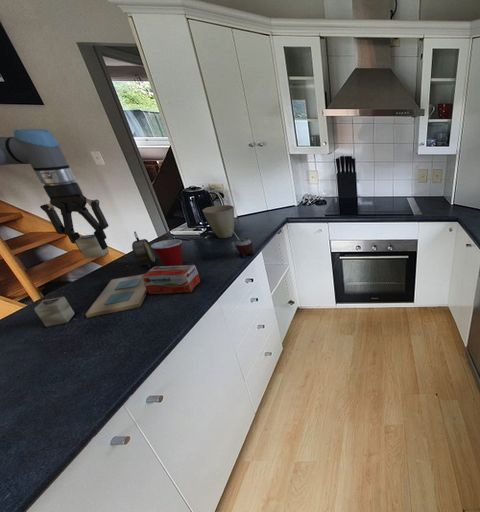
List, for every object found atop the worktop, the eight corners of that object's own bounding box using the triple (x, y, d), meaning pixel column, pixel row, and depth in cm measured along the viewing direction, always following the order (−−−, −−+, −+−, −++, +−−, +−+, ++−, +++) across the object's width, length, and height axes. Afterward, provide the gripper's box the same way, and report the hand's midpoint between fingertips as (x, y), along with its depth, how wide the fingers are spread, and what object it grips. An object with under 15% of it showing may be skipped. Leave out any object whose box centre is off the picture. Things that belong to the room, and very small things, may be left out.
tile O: (84, 259, 94) (74, 240, 91) (91, 253, 98) (81, 235, 95) (103, 256, 96) (94, 237, 93) (109, 251, 100) (100, 232, 97)
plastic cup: (193, 260, 127) (185, 236, 121) (184, 271, 117) (175, 246, 112) (166, 262, 124) (157, 238, 119) (155, 274, 115) (144, 248, 110)
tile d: (45, 326, 85) (33, 308, 82) (54, 317, 89) (42, 299, 86) (67, 322, 87) (56, 304, 84) (74, 313, 91) (64, 296, 88)
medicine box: (201, 281, 111) (195, 264, 107) (191, 292, 103) (185, 274, 100) (160, 283, 109) (153, 266, 105) (147, 295, 101) (139, 276, 98)
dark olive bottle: (154, 268, 119) (140, 234, 112) (139, 271, 117) (123, 237, 109) (157, 259, 127) (144, 226, 120) (142, 261, 125) (128, 228, 118)
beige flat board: (87, 317, 90) (84, 313, 89) (113, 282, 109) (111, 279, 108) (140, 306, 95) (138, 303, 94) (156, 275, 114) (154, 271, 114)
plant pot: (245, 232, 158) (239, 206, 151) (225, 242, 146) (217, 213, 139) (225, 229, 162) (218, 203, 155) (203, 238, 150) (195, 210, 143)
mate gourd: (256, 252, 136) (250, 223, 129) (249, 259, 129) (242, 229, 122) (242, 251, 136) (235, 223, 129) (233, 258, 129) (226, 229, 122)
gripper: (10, 188, 79) (53, 258, 90) (92, 182, 86) (123, 249, 97) (26, 183, 85) (65, 250, 96) (101, 178, 92) (130, 241, 103)
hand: (94, 249), depth 96 cm, fingers closed on tile O, 5 cm apart
